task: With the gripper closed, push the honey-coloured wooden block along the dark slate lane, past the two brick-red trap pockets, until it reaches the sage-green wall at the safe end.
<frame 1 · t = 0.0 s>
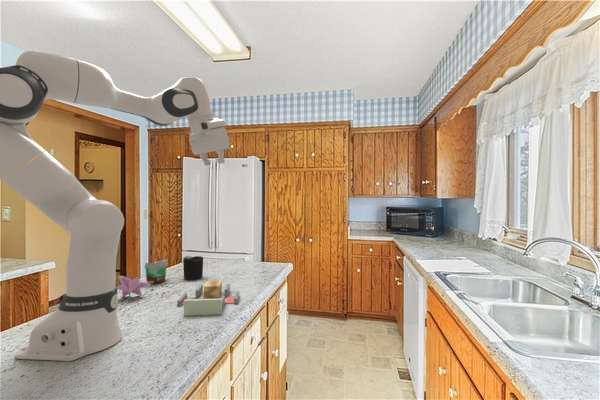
hand: (214, 164, 108), 52 cm above the countertop, tool tilted 20°, fingers open, 8 cm apart
pen holder: (193, 278, 148), on the countertop
honey block: (212, 295, 122), on the countertop
lily: (131, 299, 117), on the countertop
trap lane: (209, 301, 114), on the countertop
food container: (159, 282, 140), on the countertop
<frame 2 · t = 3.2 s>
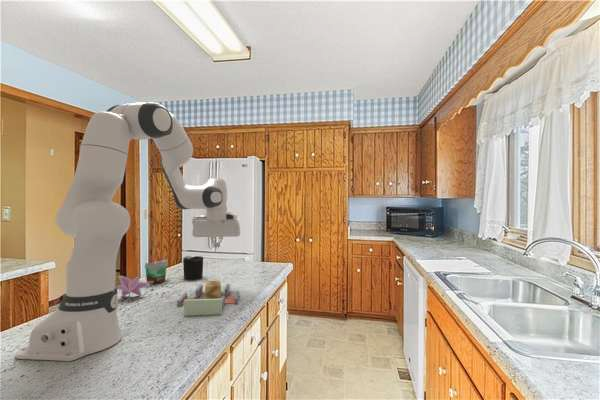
hand: (216, 247, 131), 18 cm above the countertop, tool pointing down, fingers closed
nothing on the countertop moved.
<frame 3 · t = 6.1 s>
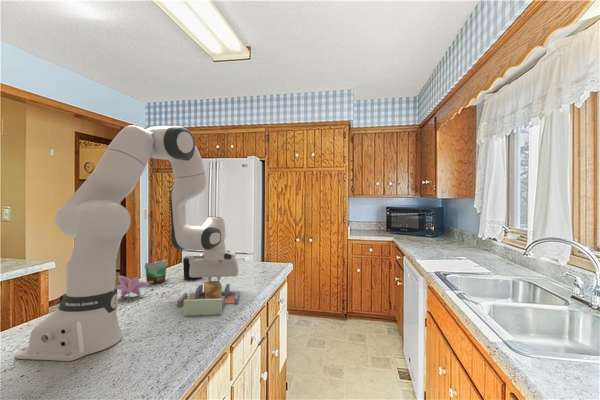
hand: (214, 287, 127), 2 cm above the countertop, tool pointing down, fingers closed
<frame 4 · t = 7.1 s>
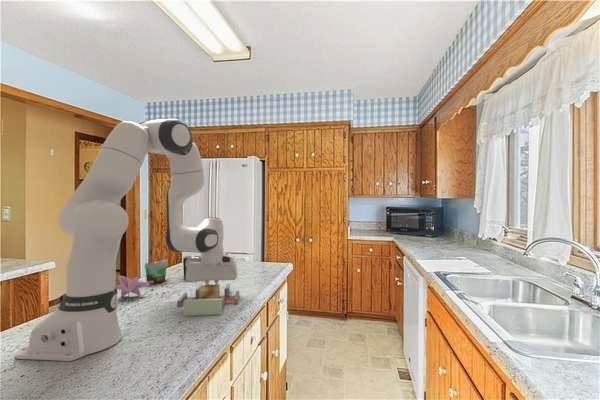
hand: (211, 291, 121), 2 cm above the countertop, tool pointing down, fingers closed
honey block: (210, 300, 116), on the countertop, touching gripper
everything else where it was.
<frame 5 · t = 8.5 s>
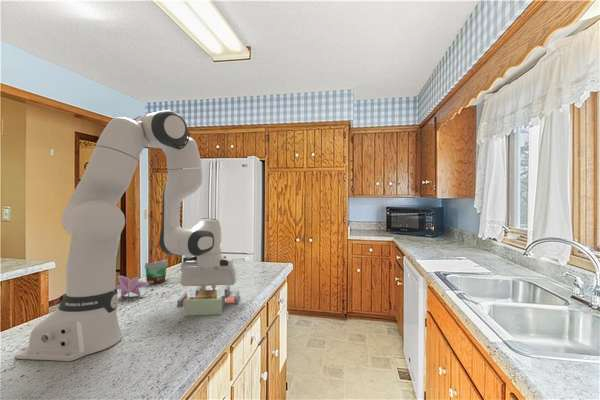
hand: (209, 296, 114), 2 cm above the countertop, tool pointing down, fingers closed
honey block: (206, 307, 109), on the countertop, touching gripper
everything else where it was.
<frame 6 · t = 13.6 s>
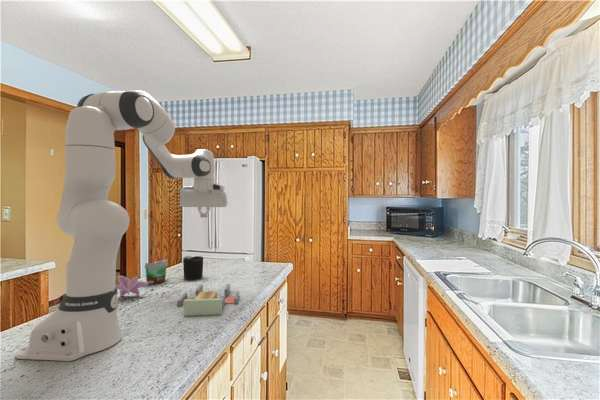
hand: (203, 217, 133), 31 cm above the countertop, tool pointing down, fingers closed
honey block: (206, 308, 107), on the countertop
at the end: honey block inside the target area (0.1 cm from its centre), on the countertop; honey block tilted 0°; honey block moved 14.9 cm from its start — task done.
